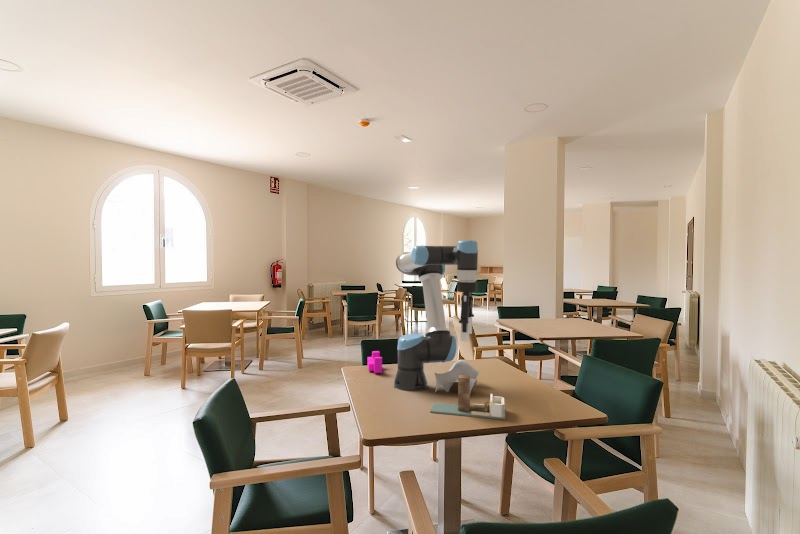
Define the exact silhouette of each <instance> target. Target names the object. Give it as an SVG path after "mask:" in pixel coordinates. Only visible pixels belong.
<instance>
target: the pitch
mask: <svg viewBox="0 0 800 534" xmlns="http://www.w3.org/2000/svg"><path fill="white" fill-rule="evenodd" d="M472 406H479V407H484V403H483V404H482V403H472ZM506 411H507V410H506V408H504V418H502V417H491V416H490V411H489V410H488V408H487V413H486V412H484V411H480V410H469V411H462V410H458V403H457V404H456V403H454V404H453V403H444V402H436V401H435V402H433V404H432V406H431V409H430V410H429V413H432V414H441V415H452V416H461V417H462V416H463V417H473V418H484V419H495V420H502V421H503V420H505V421H506V420H507V418H506V417H507V416H506V415H507V414H506V413H507V412H506Z"/></svg>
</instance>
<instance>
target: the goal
mask: <svg viewBox="0 0 800 534" xmlns="http://www.w3.org/2000/svg"><path fill="white" fill-rule="evenodd" d="M492 402H494V403H492ZM489 403H490V416H491V417H502V418H504V409H505V397H504V396H496V395H493V393H490V398H489ZM495 403H496V404H495Z"/></svg>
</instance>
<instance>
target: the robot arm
mask: <svg viewBox="0 0 800 534" xmlns="http://www.w3.org/2000/svg"><path fill="white" fill-rule="evenodd" d="M478 248H479V247H478V242H477V241H476V240H467V239H466V240H465V239H464V240H459V241H457V245H423V244H422V245H415V246H413V247H412V250H411V251H404V252H401V253H400V254H399V255H398V256H397V257H396V260H395V266H396V268H397V270H398V271H399V272H401V273H402V274H403V275H406V276H418V281H420V282H421V283H422V292H423V293H422V294H423V301H424V309H425V316H426V324H427V331H426V332H425V334H422V333H408V334H405V335H402V336H400V337H399V338H398V339H397V346H396V347H397V348H396V349H397V371H396V374H395V376H394V377H395V378H394V381H393V388H394V389H397V390H400V391H409V392H411V391H412V392H415V391H416V392H417V391H425V390H427V389H428V380H427V377H426V373H425V370H424V369H425V368H424V364H430V363H431V364H432V363H447V362H448V363H449V362H452V361H453V360H454V359H455V357H456V353H457V347H458V346H457V339H456V337H455V336H454V335H451V330H449V329H448V328H447V324H446V316H445V310H444V301H443V295H442V294H443V293H442V287H441V282H440V281H441V279H443V275H444V274H445V272H446V266H457V268H456V269H457V270H456V280H457V283H456V291H457V292H459V293H463V294H462V295H461V299H460V300H461V303H460V305H461V306H460V307H461V308H460V319H459V320H458V323H459V324H460V341H461V342H469V335H472V333H473V318H474V317H475V314H474V313H473V299H474V298H473V293H476V292H478V282H477V281H478V276H479V275H480V272H478V263H479V261H478V259H479V257H478V255H479V249H478ZM424 335H425V336H424Z"/></svg>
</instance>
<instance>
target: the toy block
mask: <svg viewBox="0 0 800 534" xmlns="http://www.w3.org/2000/svg"><path fill="white" fill-rule="evenodd" d="M380 353H381V352H380V350H373V351H372V352H371V356H367V363H366V364H367V368H368V371H369V372H372V371H373V373H374V374H383V357H382V356H380V355H381V354H380Z"/></svg>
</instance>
